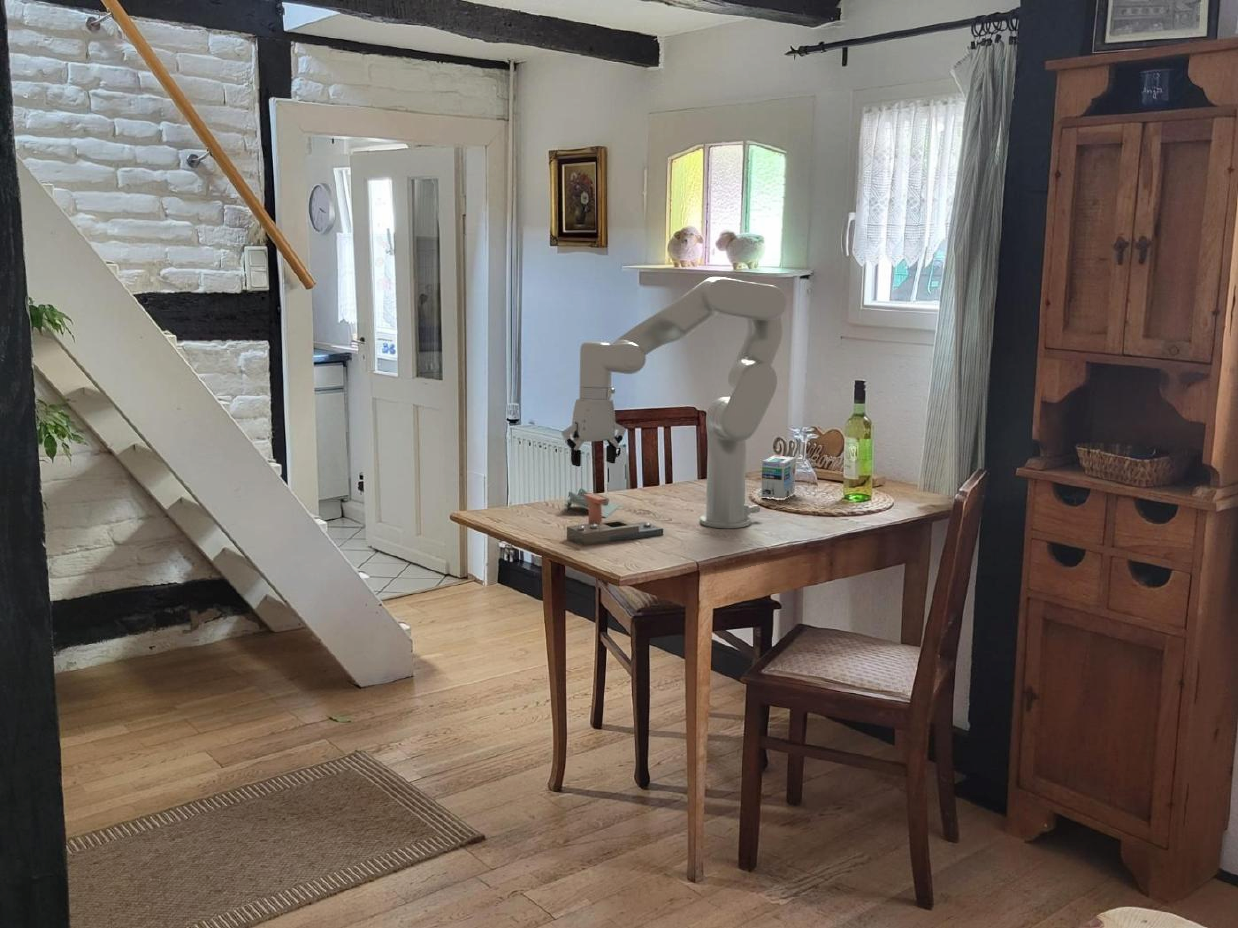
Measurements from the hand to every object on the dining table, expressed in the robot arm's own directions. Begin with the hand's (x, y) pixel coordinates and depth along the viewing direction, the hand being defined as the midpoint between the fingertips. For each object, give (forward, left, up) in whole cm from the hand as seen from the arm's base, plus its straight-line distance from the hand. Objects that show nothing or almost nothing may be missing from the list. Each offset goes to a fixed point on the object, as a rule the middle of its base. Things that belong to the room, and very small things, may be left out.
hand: (593, 464), depth 274 cm
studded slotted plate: (0, +10, -16) cm, 19 cm away
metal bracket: (-10, -18, -17) cm, 26 cm away
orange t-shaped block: (0, 0, -16) cm, 16 cm away
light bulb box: (-63, -6, -16) cm, 66 cm away
